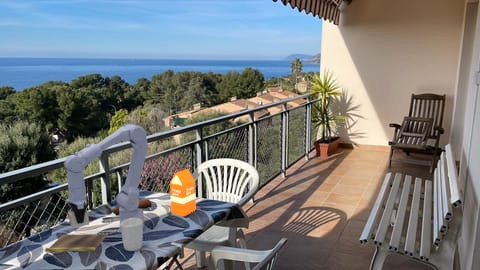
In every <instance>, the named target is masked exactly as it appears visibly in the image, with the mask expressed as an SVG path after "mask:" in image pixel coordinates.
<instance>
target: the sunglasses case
mask: <svg viewBox="0 0 480 270" xmlns="http://www.w3.org/2000/svg"><path fill="white" fill-rule="evenodd" d="M119 207H120V206H117V207H114V208H112V209H111V210H110V212H111V213H112V214H114V215H115V216H120V215H119ZM146 207H147V208H148V207H152V201H151V200H150V199H148V198H147V199H146V198H144V199H143V198H142V199H139V206H138V208H139V209H143V208H146Z"/></svg>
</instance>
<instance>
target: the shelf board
mask: <svg viewBox="0 0 480 270" xmlns="http://www.w3.org/2000/svg"><path fill="white" fill-rule="evenodd" d="M107 236H108V233H107V234H106V233H105V234H104V233H101V234H97V233H96V234H89V233H88V234H62V235H61V236H60V237H59V238H58V239H57V240H56V241H55V242H54V243H52V245H50V246H49V247H46V248H45V249H44V251H45V252H49V253H50V252H95V251H96V250H97V249H98V247H99V246H100V245H101V244H102V242H104V240H105V238H106V237H107Z"/></svg>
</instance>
